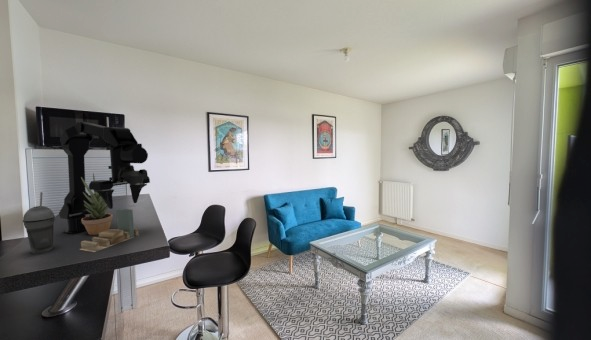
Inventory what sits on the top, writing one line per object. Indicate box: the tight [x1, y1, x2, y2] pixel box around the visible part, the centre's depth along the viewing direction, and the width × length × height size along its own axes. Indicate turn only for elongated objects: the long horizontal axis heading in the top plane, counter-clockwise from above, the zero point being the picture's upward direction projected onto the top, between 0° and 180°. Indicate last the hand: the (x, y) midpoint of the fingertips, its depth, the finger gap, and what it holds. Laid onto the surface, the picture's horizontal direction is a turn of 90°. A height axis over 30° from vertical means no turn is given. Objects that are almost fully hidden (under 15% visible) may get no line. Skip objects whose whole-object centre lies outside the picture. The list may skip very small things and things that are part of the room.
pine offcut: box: [98, 228, 124, 239], centre depth 87 cm, size 4×5×2 cm
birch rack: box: [79, 228, 140, 253], centre depth 88 cm, size 16×7×4 cm, turn 162°
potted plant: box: [81, 172, 114, 236], centre depth 97 cm, size 10×10×25 cm
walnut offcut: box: [109, 235, 126, 246], centre depth 88 cm, size 5×6×2 cm
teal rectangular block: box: [115, 208, 135, 239], centre depth 92 cm, size 2×6×10 cm, turn 72°
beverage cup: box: [22, 191, 56, 255], centre depth 80 cm, size 7×7×20 cm
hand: (123, 205), depth 91 cm, fingers open, 9 cm apart
